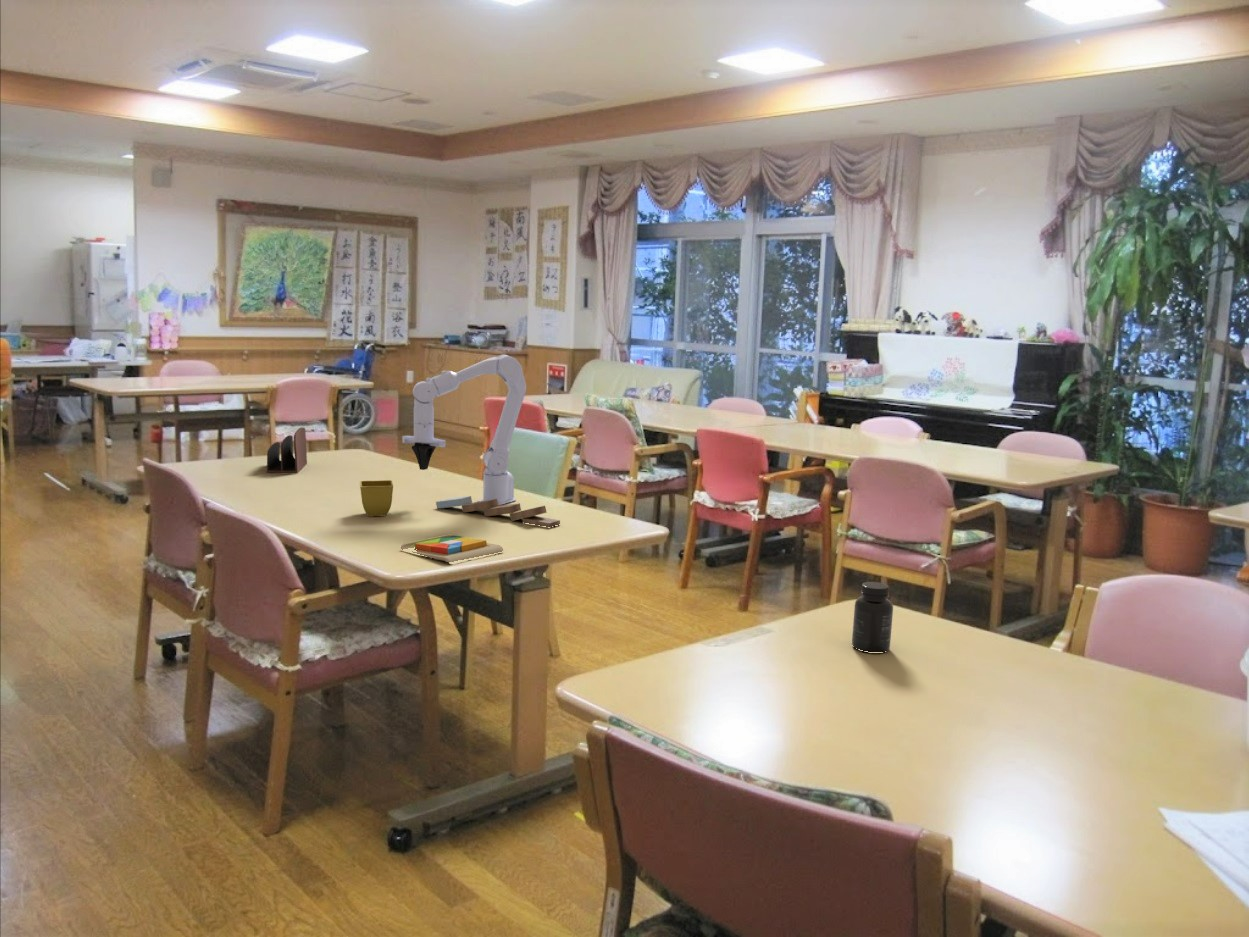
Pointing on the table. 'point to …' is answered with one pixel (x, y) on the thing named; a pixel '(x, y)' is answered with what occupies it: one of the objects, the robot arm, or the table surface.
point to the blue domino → (454, 502)
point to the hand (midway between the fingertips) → (423, 469)
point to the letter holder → (288, 454)
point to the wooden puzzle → (452, 547)
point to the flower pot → (376, 497)
